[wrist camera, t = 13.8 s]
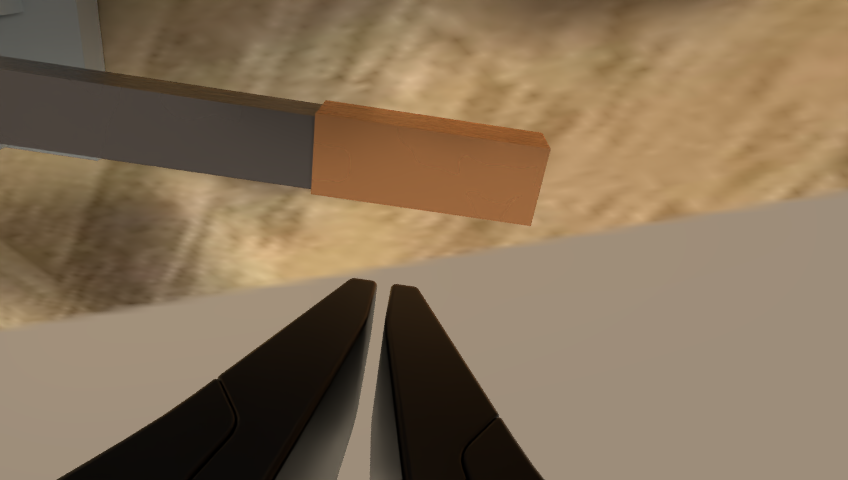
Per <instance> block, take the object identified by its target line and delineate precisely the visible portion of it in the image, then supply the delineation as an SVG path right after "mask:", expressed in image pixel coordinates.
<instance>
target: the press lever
mask: <svg viewBox="0 0 848 480" xmlns="http://www.w3.org/2000/svg"><path fill="white" fill-rule="evenodd" d="M0 144H5V145H12V146H19V147H26V148H33V149H40V150H47V151H53V152H60V153H67V154H74V155H81V156H88V157H95V158H102V159H108V160H115V161H122V162H129V163H136V164H143V165H150V166H156V167H163V168H170V169H177V170H184V171H191V172H198V173H205V174H211V175H218V176H225V177H232V178H239V179H246V180H253V181H259V182H266V183H273V184H280V185H287V186H294V187H301V188H308V189H311V194H315V195H321V196H328V197H335V198H342V199H349V200H356V201H363V202H370V203H376V204H383V205H390V206H397V207H404V208H411V209H418V210H425V211H432V212H438V213H445V214H452V215H459V216H466V217H473V218H480V219H487V220H493V221H500V222H507V223H514V224H521V225H528V226H531V223H532V219H533V215H534V211H535V207H536V203H537V199H538V196H539V192H540V188H541V184H542V180H543V176H544V172H545V168H546V165H547V161H548V157H549V153H550V147H549V145H548V143H547V141H546V139H545V137H544V136H543V134H542V133H539V132H533V131H526V130H519V129H513V128H506V127H499V126H493V125H486V124H480V123H473V122H466V121H460V120H453V119H447V118H440V117H433V116H427V115H420V114H413V113H407V112H400V111H394V110H387V109H380V108H374V107H367V106H361V105H354V104H347V103H341V102H334V101H327V100H326V101H325V102H324V103H323V104H316V103H310V102H303V101H297V100H290V99H283V98H277V97H270V96H263V95H257V94H250V93H244V92H237V91H230V90H224V89H217V88H210V87H204V86H197V85H191V84H184V83H177V82H171V81H164V80H157V79H151V78H144V77H138V76H131V75H124V74H118V73H111V72H104V71H98V70H91V69H85V68H78V67H71V66H65V65H58V64H51V63H45V62H38V61H32V60H25V59H18V58H12V57H5V56H0Z"/></svg>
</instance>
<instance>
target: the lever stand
mask: <svg viewBox="0 0 848 480" xmlns="http://www.w3.org/2000/svg"><path fill="white" fill-rule="evenodd" d="M0 56H5V57H12V58H18V59H25V60H32V61H38V62H45V63H51V64H58V65H65V66H71V67H78V68H85V69H91V70H98V71H104V72H105V64H104V55H103V47H102V38H101V30H100V21H99V13H98V4H97V0H0ZM4 147H8V148H15V149H21V150H28V151H35V152H42V153H49V154H55V155H62V156H69V157H76V158H82V159H89V160H96V161H98V160H100V159H101V158H95V157H88V156H81V155H74V154H67V153H60V152H53V151H47V150H40V149H33V148H26V147H19V146H12V145H5V144H0V149H2V148H4Z"/></svg>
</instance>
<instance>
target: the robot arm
mask: <svg viewBox="0 0 848 480" xmlns="http://www.w3.org/2000/svg"><path fill="white" fill-rule="evenodd" d="M376 290H377V284H376V283H375V282H374V281H371V280H363V279H356V278H352V279H350V280H348V281H347V282H346V283H344V284H343V285H342V286H340V287H339V288H338V289H336V290H335V291H334V292H332V293H331V294H329V295H328V296H327V297H325V298H324V299H323V300H321V301H320V302H319V303H317V304H316V305H314V306H313V307H312V308H310V309H309V310H308V311H306V312H305V313H304V314H302V315H301V316H300V317H298V318H297V319H295V320H294V321H293V322H292V323H290V324H289V325H287V326H286V327H285V328H283V329H282V330H281V331H279V332H278V333H277V334H275V335H274V336H273V337H271V338H270V339H268V340H267V341H266V342H264V343H263V344H262V345H260V346H259V347H258V348H256V349H255V350H253V351H252V352H251V353H249V354H248V355H247V356H245V357H244V358H243V359H241V360H240V361H239V362H237V363H236V364H235V365H233V366H232V367H230V368H229V369H228V370H226V371H225V372H224V373H222V374H221V375H220V376H219V377H218V379H214V380H212V381H211V382H210V383H208V384H207V385H206V386H205V387H203V388H202V389H200V390H199V391H197V392H196V393H195V394H193V395H192V396H190V397H189V398H188V399H186V400H185V401H183V402H182V403H181V404H179V405H177V406H176V407H175V408H173V409H172V410H170V411H169V412H167V413H166V414H164V415H163V416H162V417H160V418H158V419H157V420H155V421H153V422H152V423H150V424H148V425H147V426H145V427H144V428H142V429H141V430H139V431H137V432H136V433H134V434H133V435H131V436H129V437H128V438H126V439H124V440H123V441H121V442H119V443H118V444H116V445H114V446H113V447H111V448H109V449H108V450H106V451H104V452H103V453H101V454H99V455H97V456H96V457H94V458H92V459H91V460H90V461H87V462H86V463H84V464H82V465H81V466H79V467H77V468H76V469H74V470H72V471H71V472H69V473H67V474H65V475H64V476H62V477H60V478H59V479H57V480H337V477H338V473H339V470H340V467H341V463H342V461H343V458H344V454H345V451H346V448H347V445H348V442H349V439H350V435H351V432H352V429H353V425H354V422H355V418H356V414H357V409H358V404H359V399H360V393H361V387H362V381H363V376H364V371H365V365H366V359H367V354H368V348H369V342H370V337H371V330H372V323H373V315H374V306H375V298H376ZM370 456H371V457H370V480H544V479H543V477H542V476H541V475H540V474H539V472H538V471H537V470H536V468H535V467H534V466H533V465H532V463H531V462H530V460H529V459H528V457H527V456H526V455H525V453H524V452H523V450H522V449H521V447H520V446H519V444H518V443H517V441H516V440H515V439H514V437H513V436H512V434H511V432H510V431H509V429H508V428H507V426H506V425H505V424H504V422H503V420H502V419H501V418H499V414H498V413H497V411H496V409H495V408H494V406H493V405H492V403H491V402H490V400H489V399H488V397H487V395H486V394H485V393H484V391H483V389H482V388H481V386H480V385H479V383H478V381H477V380H476V378H475V377H474V375H473V374H472V372H471V371H470V369H469V368H468V366H467V364H466V363H465V361H464V360H463V358H462V356H461V355H460V354H459V352H458V350H457V349H456V347H455V346H454V344H453V343H452V341H451V339H450V338H449V336H448V335H447V333H446V332H445V330H444V329H443V327H442V325H441V324H440V322H439V321H438V319H437V318H436V316H435V314H434V313H433V311H432V310H431V308H430V307H429V305H428V304H427V302H426V300H425V299H424V297H423V296H422V294H421V293H420V291H419V290H418V288H416V287H413V286H406V285H399V284H394V285H393V286H392V287H391V291H390V296H389V302H388V307H387V312H386V318H385V325H384V332H383V340H382V347H381V354H380V361H379V369H378V376H377V384H376V391H375V398H374V406H373V413H372V424H371V454H370Z"/></svg>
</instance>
